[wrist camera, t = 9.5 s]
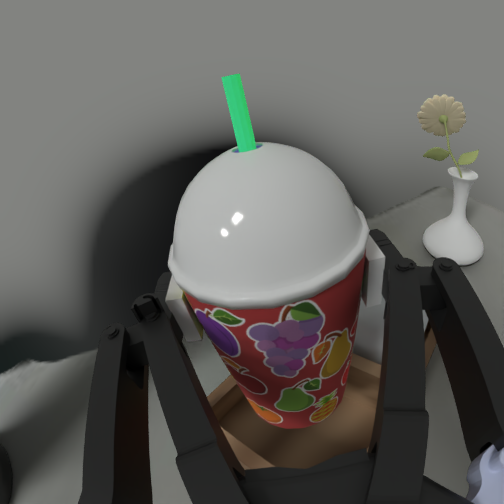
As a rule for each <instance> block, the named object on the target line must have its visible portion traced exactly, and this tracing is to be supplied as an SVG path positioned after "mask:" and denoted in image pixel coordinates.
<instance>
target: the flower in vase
mask: <svg viewBox="0 0 504 504" xmlns="http://www.w3.org/2000/svg"><path fill="white" fill-rule="evenodd" d="M463 111H464V107H463V106H462V103H461V102H454V97H449V98H448V96H447V95H442V96H441V97H439V96H438V95H434V97H433V99H431V98H428V99H427V101H425V102H424V105H422V106H421V111H420V112H418V113H417V117H418V118H419V122H420V123H421V124H422V129H424V130H426V131H427V132H428V133H431V132H434V135H436V136H437V135H438V136H445V135H446V136H447V145H448V150H449V152H448V151H446V150H444V149H442V148H439V147H435V148H432V149H430V150H428V151H427V152H426V153H425V154H424V155H423V157H427V158H431V159H434V160H438V161H442V160H444V159H445V158H447V157H448V156H449V154H450V155H451V157H452V159H453V161H454V163H455V165H456V166H457V167H451V168H449V169H448V173H449V174H450V176H451V178H452V181H453V186H454V203H453V209H452V212H451V214H450V215H449V216H448V217H446V218H444V219H441V220H439V221H437V222H435V223H433V224H432V225H430V226H429V227H428V228H427V229H426V230H425V232H424V234H423V243H424V246H425V247H426V249H427V251H428V252H429V253H430V254H431V255H432V256H434V257H435V258H440V257H447V258H450V259H452V260H454V261H455V262H456V263H457V264H458V265H469V264H472V263H474V262H476V261H477V260H479V259H480V258H481V257H482V255H483V252H484V247H483V242H482V239H481V237H480V236H479V234H478V233H477V231H476V230H475V229H474V228H473V227H472V226H471V225H470V223H469V222H468V221H467V219H466V204H467V199H468V195H469V191H470V188H471V186H472V184H473V183H474V181H475V180H476V179H477V178H478V175H477V173H476V172H474V171H472V170H470V169H467V168H463V167H459V166H458V164H459V165H464V164H471V163H472V162H473V161H475V159H476V158H477V155H478V151H479V150H476V151H473V152H468V153H464V154H462V155H461V156H460V158H459V160H458V164H457V162H456V160H455V159H454V157H453V155H452V153H451V150H450V146H449V137H448V135H451V134H452V133H454V132H455V133H457V132H459V128H462V127H463V124H464V123H466V120H465V117H466V116H465V112H463Z"/></svg>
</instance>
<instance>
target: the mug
mask: <svg viewBox="0 0 504 504" xmlns="http://www.w3.org/2000/svg"><path fill="white" fill-rule="evenodd" d="M385 302H386V301H385V299H384V298H383V296H382V300H381V304H379V305H375V306H371V307H368V308H366V306H365V304H364V302H363V299H362V297H361V301H360V309H359V316H358V323H357V329H356V335H355V341H354V347H353V353H354V354H356V355H359V356H361V357H363V358H366V359H368V360H370V361H373V362H375V363H377V364H380V365H381V363H382V351H383V336H384V319H383V317H384V310H385ZM423 323H424V332H425V329H426V326H427V323H428V317H427V315H426V312H425V310H423Z"/></svg>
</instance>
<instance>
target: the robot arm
mask: <svg viewBox="0 0 504 504" xmlns="http://www.w3.org/2000/svg"><path fill="white" fill-rule="evenodd" d="M382 296H383V298H384V299H385V301H386V302H385V310H384V317H383V319H384V336H383V351H382V363H381V373H380V383H379V391H378V399H377V406H376V413H375V419H374V426H373V431H372V437H371V441H370V444H369V448H368V452H367V450H366V448H363V449H360V450H356V451H352V452H349V453H345V454H340V455H337V456H335V457H332V458H330V459H328V460H326V461H324V462H322V463H319V464H317V465H315V466H313V467H310V468H307V469H300V468H285V467H267V468H257V469H246V470H245V469H244V468H243V467H242V465H241V464H240V462H239V461H238V459H237V457H236V455H235V453H234V451H233V450H232V448H231V446H230V444H229V442H228V440H227V438H226V436H225V434H224V432H223V430H222V428H221V426H220V424H219V422H218V420H217V418H216V416H215V414H214V412H213V410H212V408H211V405H210V403H209V401H208V399H207V397H206V395H205V392H204V390H203V388H202V386H201V384H200V381H199V379H198V377H197V375H196V372H195V370H194V368H193V365H192V363H191V361H190V358H189V356H188V353H187V351H186V348H185V346H184V345H183V343H182V338H183V336H184V337H185V339H186V341H187V342H191V341H199V340H202V335H203V327H202V325H201V323H200V321H199V320H198V318H197V316H196V314H195V312H194V311H193V309H192V307H191V305H190V303H189V302H188V300H187V298H186V296H185V294H184V292H183V291H182V289H180V288H179V286H178V285H177V283H176V282H175V280H174V278H173V275H172V273H171V271H170V272H166V273H163V274H162V276H161V277H160V278H159V280H158V283H157V287H156V289H155V293H154V294H152V293H148V294H144V295H142V296H140V297H138V298H137V299H136V300H135V301H134V302H133V304H132V305H131V310H132V311H133V313H134V315H135V316H136V318H137V320H138V321H139V323H137V324H135V325H132V326H130V327H127V328H125V327H124V326H123V324H122V323H113V324H110V325H109V326H107V327H106V328H105V329H104V330H103V332H102V334H101V337H100V343H99V347H98V352H97V357H96V362H95V368H94V374H93V380H92V386H91V392H90V399H89V407H88V415H87V423H86V433H85V445H84V459H83V484H82V493H81V496H80V499H79V502H78V504H153V501H152V486H151V473H150V457H149V431H148V376H149V365H150V369H151V373H152V376H153V380H154V383H155V387H156V390H157V394H158V397H159V400H160V403H161V407H162V410H163V413H164V416H165V419H166V422H167V425H168V428H169V431H170V433H171V436H172V439H173V442H174V445H175V447H176V450H177V453H178V456H177V457H176V464H177V467H178V470H179V472H180V475H181V477H182V480H183V482H184V485H185V487H186V489H187V492H188V494H189V496H190V499H191V501H192V503H193V504H504V348H503V345H502V343H501V341H500V339H499V337H498V335H497V333H496V331H495V329H494V327H493V325H492V323H491V321H490V319H489V317H488V315H487V313H486V311H485V309H484V308H483V306H482V304H481V302H480V300H479V298H478V297H477V295H476V293H475V291H474V290H473V288H472V286H471V285H470V283H469V281H468V280H467V278H466V276H465V275H464V273H463V272H462V270H461V268H460V267H459V265H458V264H457V263H456V262H455V261H454V260H452V259H450V258H447V257H440V258H437V259H436V260H434V262H433V266H432V267H420V266H417V265H416V263H415V262H414V261H413V260H410V259H408V258H403V257H402V255H401V254H400V253H399V251H398V250H397V249H396V247H395V246H394V245H393V244H392V242H391V241H390V240H389V239H388V237H387V236H386V235H385V234H384V233H383V232H381V231H380V230H378V229H374V230H370V231H369V237H368V241H367V245H366V256H365V267H364V276H363V285H362V294H361V297H362V299H363V302H364V304H365V306H366V308H368V307H371V306H375V305H379V304H381V300H382ZM423 310H425V312H426V315H427V317H428V320H429V322H430V325H431V328H432V330H433V333H434V336H435V339H436V341H437V344H438V347H439V350H440V353H441V356H442V359H443V362H444V365H445V368H446V371H447V374H448V378H449V381H450V384H451V388H452V391H453V395H454V399H455V402H456V406H457V410H458V414H459V418H460V422H461V427H462V431H463V436H464V440H465V444H466V448H467V451H468V454H469V456H470V459H471V461H472V463H471V464H470V466H469V469H468V473H467V481H468V483H469V492H468V494H467V497H466V498H463V497H461V496H459V495H457V494H456V493H454V492H452V491H450V490H448V489H447V488H445V487H443V486H441V485H440V484H438V483H436V482H434V481H433V480H431V479H429V478H428V477H426V476H424V475H423V473H424V466H425V458H426V449H427V439H428V426H429V415H428V412H427V411H426V410H425V339H424V323H423ZM11 488H12V472H11V465H10V461H9V458H8V455H7V453H6V451H5V449H4V448H3V446H2V445H1V444H0V504H8V502H9V499H10V494H11Z"/></svg>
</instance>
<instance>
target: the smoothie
mask: <svg viewBox="0 0 504 504" xmlns="http://www.w3.org/2000/svg"><path fill="white" fill-rule="evenodd" d="M222 81H223V85H224V89H225V94H226V98H227V102H228V106H229V111H230V115H231V119H232V123H233V128H234V132H235V136H236V140H237V145H238V146H237V147H235V148H232V149H230V150H228V151H226V152H225V153H223V154H221V155H220V156H218V157H217V158H215V159H214V160H212V161H211V162H210V163H208V164H207V165H206V166H205V167H204V168H203V169H202V170H201V171H200V172H199V173H198V174H197V175H196V177H195V178H194V179H193V180H192V182H191V183H190V184H189V185H188V187H187V189H186V191H185V193H184V195H183V197H182V199H181V202H180V205H179V209H178V212H177V216H176V222H175V229H174V240H173V244H172V245H171V249H170V254H169V261H168V267H169V269H170V271H171V273H172V275H173V278H174V280H175V282H176V283H177V285H178V286H179V288H180V289H182V291H183V292H184V294H185V296H186V298H187V300H188V302H189V303H190V305H191V307H192V309H193V311H194V312H195V314H196V316H197V318H198V320H199V321H200V323H201V325H202V327H203V328H204V330H205V332H206V333H207V335H208V337H209V339H210V340H211V342H212V344H213V345H214V347H215V349H216V350H217V352H218V354H219V355H220V357H221V359H222V360H223V362H224V364H225V365H226V367H227V368H228V370H229V372H230V373H231V375H232V376H233V378H234V380H235V381H236V383H237V384H238V386H239V387H240V389H241V391H242V392H243V394H244V395H245V397H246V398H247V400H248V401H249V403H250V404H251V406H252V407H253V409H254V410H255V412H256V413H257V415H258V416H259V417H261V418H262V419H263V420H265V421H266V422H268V423H269V424H271V425H275V426H278V427H282V428H285V429H293V428H305V427H308V426H311V425H314V424H317V423H320V422H321V421H322V420H324V419H325V418H327V417H328V416H330V415H331V414H332V413H333V412H334V411H335V409H336V408H337V407H338V405H339V404H340V403H341V401H342V398H343V395H344V392H345V388H346V383H347V378H348V373H349V368H350V363H351V358H352V353H353V347H354V341H355V335H356V329H357V323H358V316H359V309H360V301H361V294H362V285H363V276H364V267H365V256H366V245H367V241H368V237H369V231H370V230H369V227H368V224H367V221H366V219H365V216H364V214H363V212H362V211H361V210H360V209H358V208H357V207H356V206H355V205H354V204H353V201H352V199H351V197H350V195H349V193H348V192H347V190H346V188H345V186H344V185H343V183H342V182H341V181H340V180H339V178H338V177H337V176H336V175H335V174H334V172H333V171H332V170H331V169H329V168H328V167H327V166H326V165H324V164H323V163H322V162H321V161H319V160H318V159H316V158H315V157H314V156H312V155H311V154H308V153H307V152H305V151H303V150H300V149H297V148H294V147H290V146H287V145H282V144H276V143H268V142H256V143H255V139H254V135H253V130H252V126H251V121H250V117H249V112H248V108H247V104H246V100H245V95H244V91H243V86H242V82H241V78H240V74H235V75H230V76H226V77H222Z"/></svg>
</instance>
